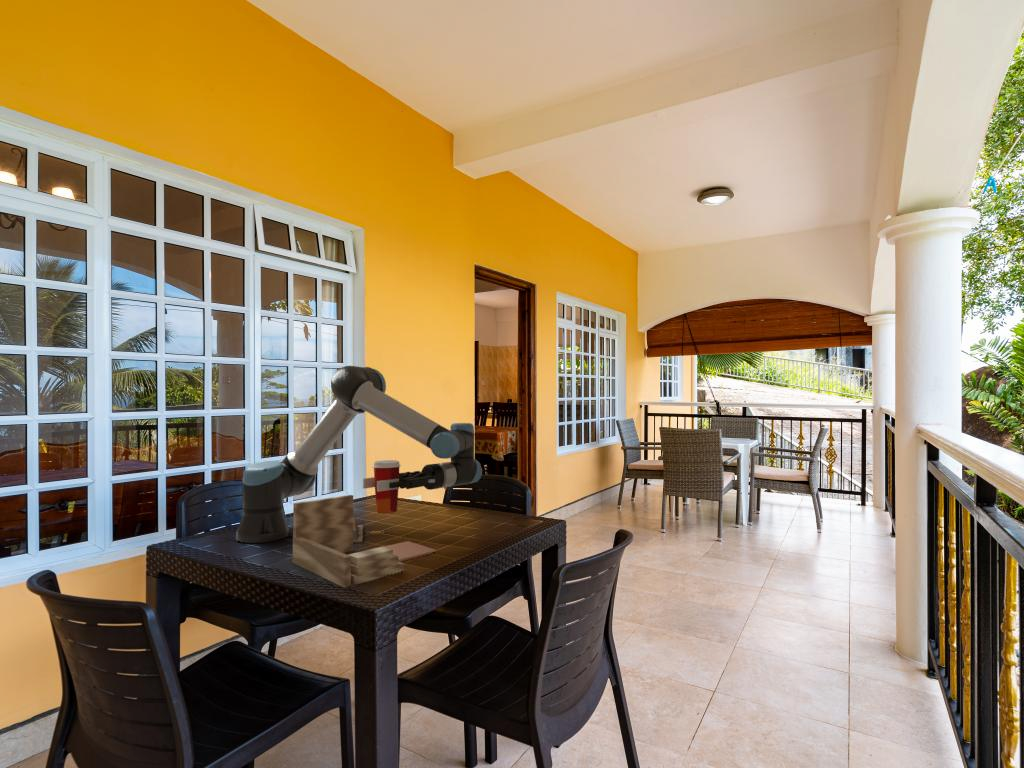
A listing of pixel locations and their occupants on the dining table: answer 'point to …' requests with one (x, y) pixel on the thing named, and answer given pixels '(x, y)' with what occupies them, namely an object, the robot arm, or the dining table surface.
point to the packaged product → (357, 532)
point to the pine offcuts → (373, 564)
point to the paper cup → (389, 498)
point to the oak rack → (324, 537)
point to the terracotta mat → (409, 550)
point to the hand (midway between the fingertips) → (370, 484)
